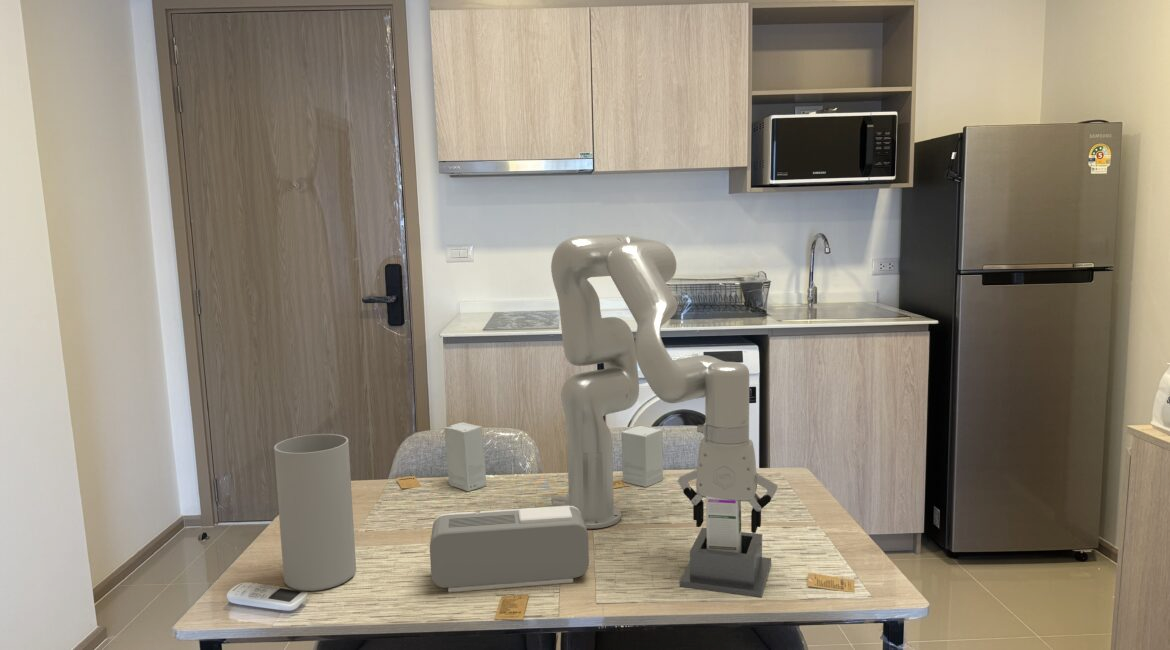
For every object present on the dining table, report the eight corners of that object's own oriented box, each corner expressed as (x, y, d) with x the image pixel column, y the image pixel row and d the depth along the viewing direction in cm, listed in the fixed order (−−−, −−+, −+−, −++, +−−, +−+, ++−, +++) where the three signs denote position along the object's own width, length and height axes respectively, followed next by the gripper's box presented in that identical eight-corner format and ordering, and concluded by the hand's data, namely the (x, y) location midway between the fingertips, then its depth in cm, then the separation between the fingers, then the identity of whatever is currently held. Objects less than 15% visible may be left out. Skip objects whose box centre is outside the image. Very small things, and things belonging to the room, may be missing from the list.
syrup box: (739, 577, 141) (740, 496, 139) (705, 574, 143) (705, 494, 141) (741, 563, 147) (742, 486, 145) (709, 560, 148) (708, 484, 146)
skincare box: (487, 486, 195) (484, 426, 193) (466, 492, 191) (464, 431, 189) (466, 479, 201) (464, 420, 199) (446, 484, 197) (443, 425, 195)
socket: (679, 586, 140) (679, 553, 140) (695, 554, 153) (695, 524, 153) (761, 597, 136) (761, 563, 135) (771, 563, 149) (771, 532, 148)
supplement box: (664, 480, 197) (663, 429, 195) (645, 488, 192) (645, 436, 190) (639, 474, 202) (639, 424, 200) (621, 481, 196) (620, 431, 195)
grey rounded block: (582, 561, 152) (581, 500, 150) (589, 583, 143) (588, 518, 141) (434, 572, 148) (431, 510, 147) (432, 595, 139) (428, 529, 138)
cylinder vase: (286, 598, 139) (276, 457, 136) (282, 570, 150) (272, 439, 147) (361, 584, 144) (352, 447, 141) (351, 557, 155) (343, 430, 152)
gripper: (673, 435, 141) (674, 529, 143) (775, 442, 135) (774, 540, 137) (682, 424, 148) (683, 515, 150) (780, 431, 142) (779, 524, 144)
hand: (726, 527), depth 143 cm, fingers open, 9 cm apart
